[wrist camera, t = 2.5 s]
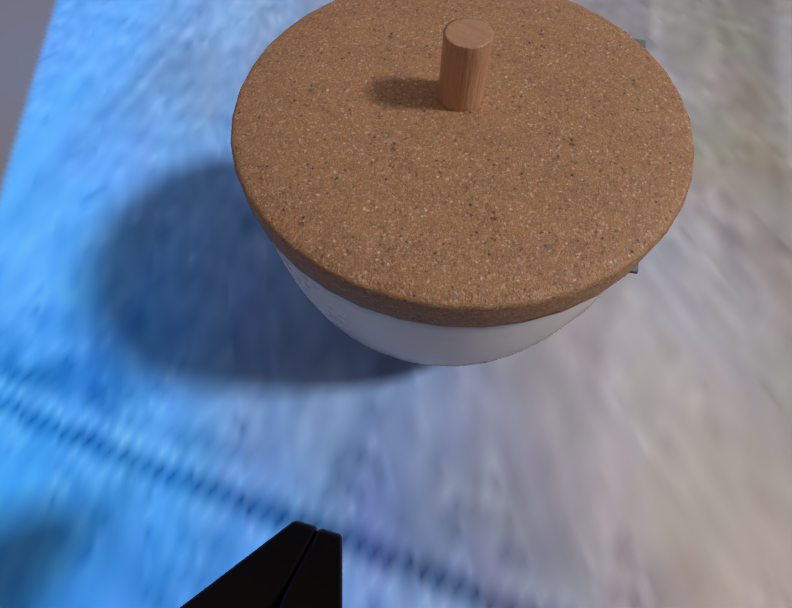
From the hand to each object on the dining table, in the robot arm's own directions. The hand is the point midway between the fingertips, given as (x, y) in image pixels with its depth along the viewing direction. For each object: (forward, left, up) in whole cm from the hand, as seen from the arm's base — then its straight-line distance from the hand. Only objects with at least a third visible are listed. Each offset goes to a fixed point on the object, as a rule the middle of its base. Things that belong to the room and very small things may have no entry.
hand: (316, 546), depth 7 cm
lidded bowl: (+10, +6, -9) cm, 14 cm away
